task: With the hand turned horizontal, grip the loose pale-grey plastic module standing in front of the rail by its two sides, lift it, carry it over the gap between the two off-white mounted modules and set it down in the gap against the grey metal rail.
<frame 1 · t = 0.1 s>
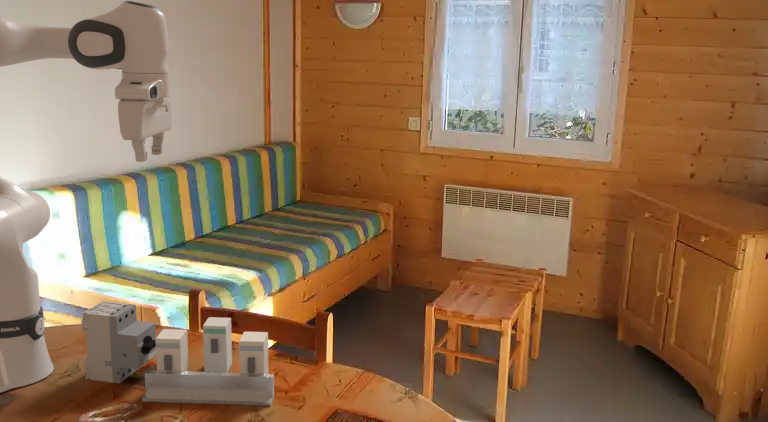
hand: (149, 157, 141), 48 cm above the table, tool pointing down, fingers open, 8 cm apart
module right: (254, 390, 148), on the table
loose module: (218, 367, 158), on the table
module left: (173, 387, 148), on the table
circuit breaker: (125, 376, 153), on the table
rail: (210, 396, 145), on the table
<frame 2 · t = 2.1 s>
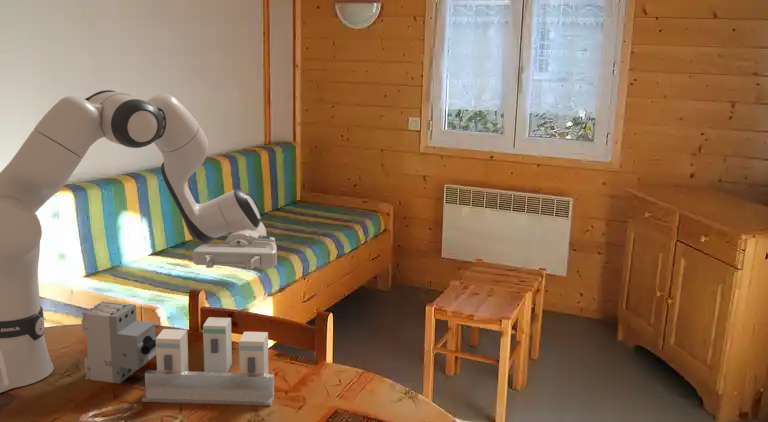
hand: (229, 265, 165), 20 cm above the table, tool horizontal, fingers open, 8 cm apart
nothing on the table moved.
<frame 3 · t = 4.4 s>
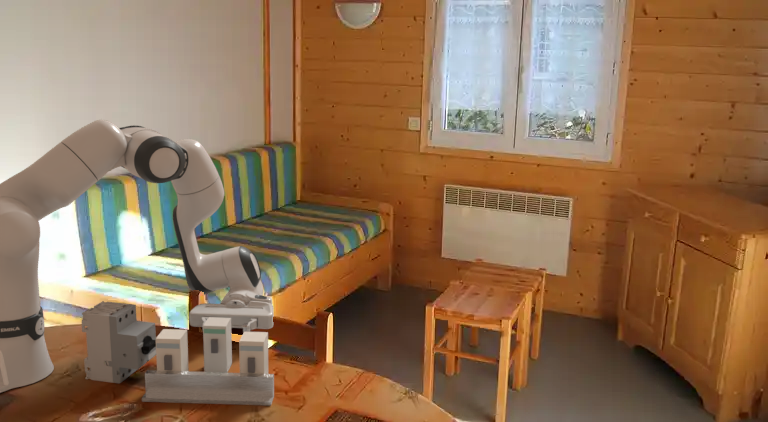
hand: (225, 328, 165), 6 cm above the table, tool horizontal, fingers open, 8 cm apart
nothing on the table moved.
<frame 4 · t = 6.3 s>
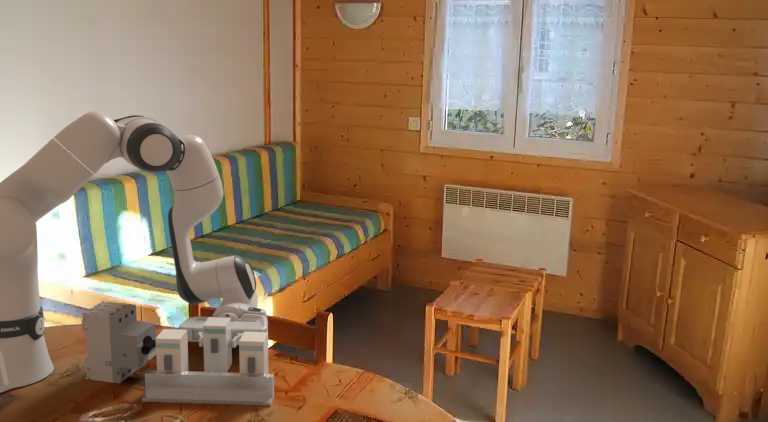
hand: (216, 344, 156), 6 cm above the table, tool horizontal, fingers closed on loose module, 5 cm apart
loose module: (218, 367, 158), on the table, touching gripper
everything else where it was.
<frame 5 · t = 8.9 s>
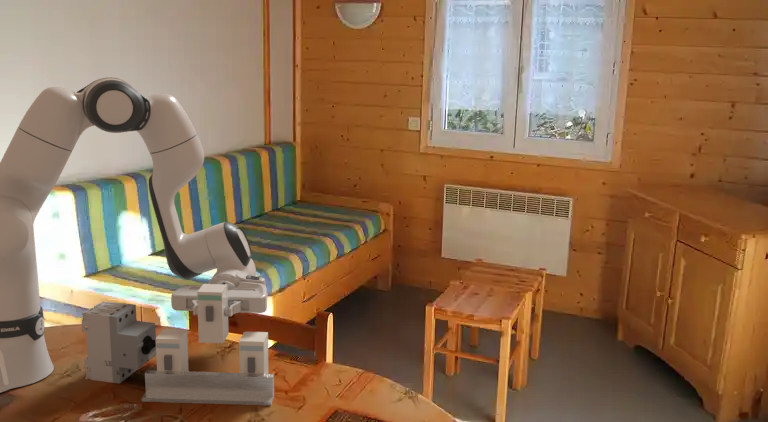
hand: (212, 312, 145), 17 cm above the table, tool horizontal, fingers closed on loose module, 5 cm apart
loose module: (213, 338, 147), point 11 cm above the table, touching gripper
everything else where it was.
when the fingers open (7 cm above the table, at t = 11.3 s): loose module stays where it is, on the table.
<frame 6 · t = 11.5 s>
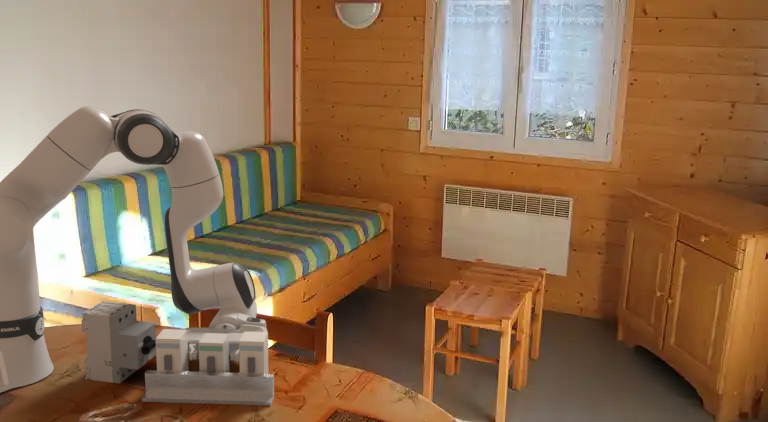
hand: (213, 357, 147), 7 cm above the table, tool horizontal, fingers open, 7 cm apart
loose module: (215, 386, 149), on the table
everything else where it was.
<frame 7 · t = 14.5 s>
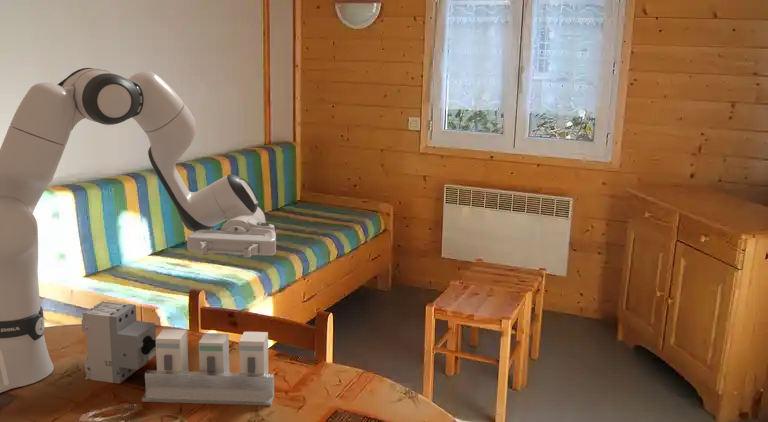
hand: (225, 252, 156), 26 cm above the table, tool horizontal, fingers open, 8 cm apart
nothing on the table moved.
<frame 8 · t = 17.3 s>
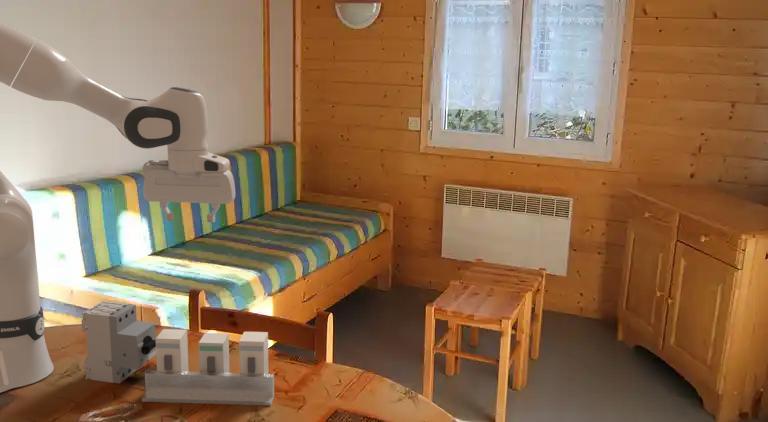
hand: (190, 221, 161), 31 cm above the table, tool pointing down, fingers open, 8 cm apart
nothing on the table moved.
at the end: loose module inside the target area (0.2 cm from its centre), on the table; loose module tilted 0°; the gripper is holding nothing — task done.
